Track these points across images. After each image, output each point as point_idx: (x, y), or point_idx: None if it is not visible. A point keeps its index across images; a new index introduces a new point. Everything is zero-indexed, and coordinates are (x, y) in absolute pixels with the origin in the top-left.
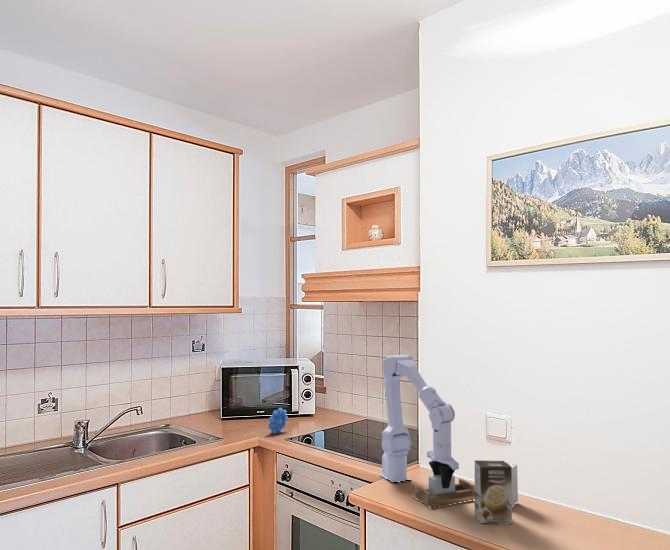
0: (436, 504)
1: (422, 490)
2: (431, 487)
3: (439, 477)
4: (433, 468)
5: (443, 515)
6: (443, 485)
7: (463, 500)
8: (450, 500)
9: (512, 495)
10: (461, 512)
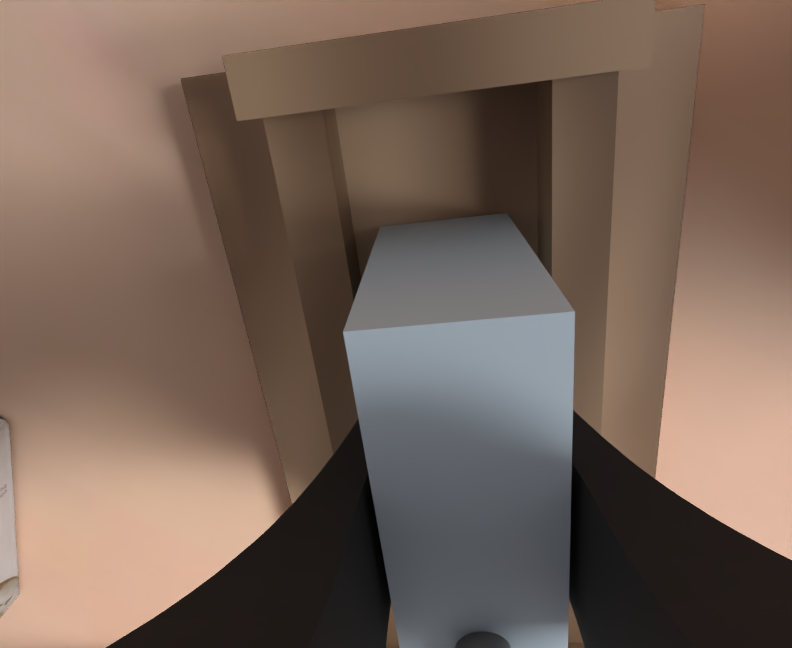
0: (213, 168)
1: (394, 32)
2: (442, 256)
3: (424, 485)
4: (664, 576)
5: (9, 133)
6: (350, 433)
7: (291, 492)
8: (299, 381)
9: None
10: (85, 352)
